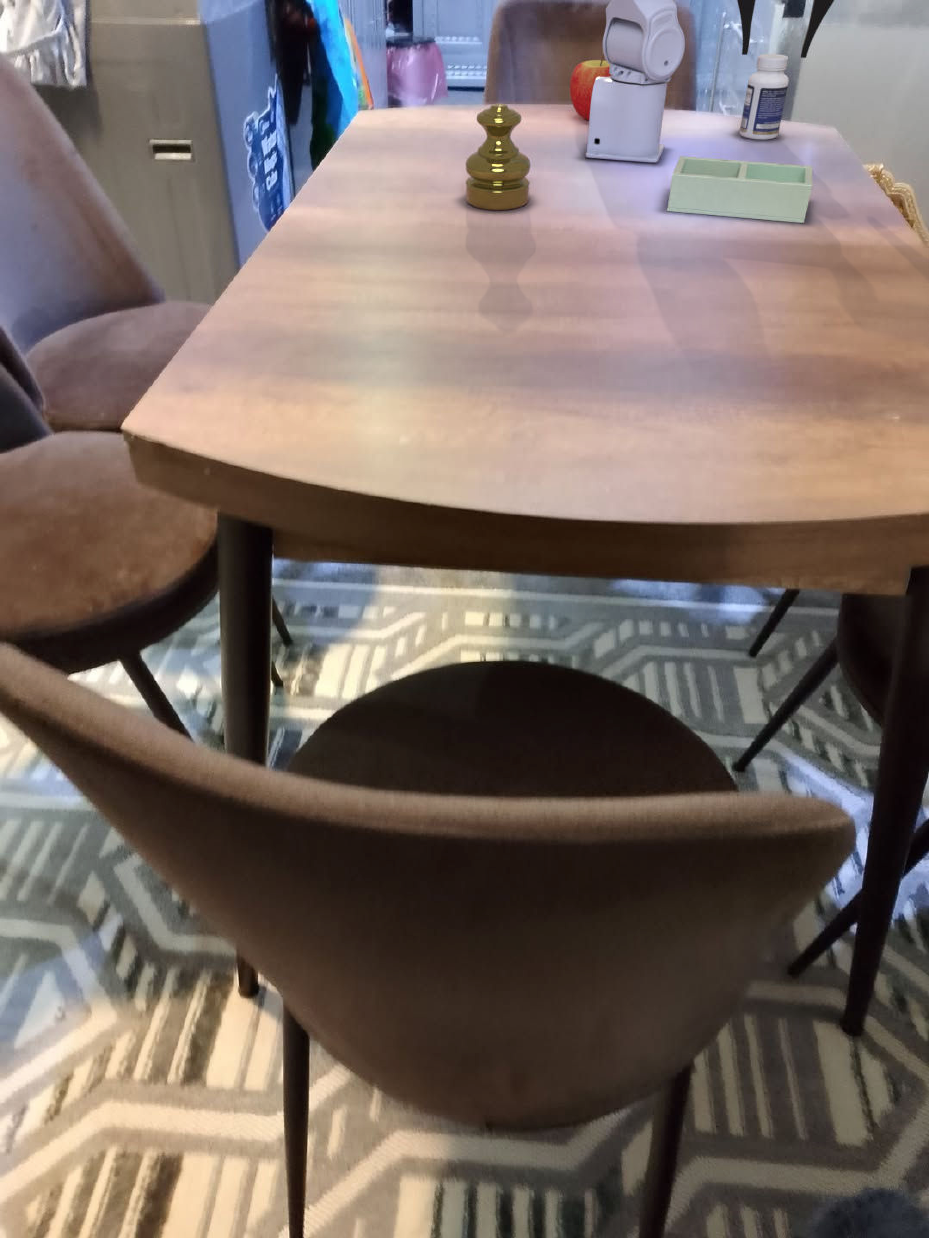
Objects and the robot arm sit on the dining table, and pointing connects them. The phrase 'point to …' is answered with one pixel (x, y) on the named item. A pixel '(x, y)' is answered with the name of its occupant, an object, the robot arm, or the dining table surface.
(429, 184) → the dining table surface
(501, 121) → the salt shaker
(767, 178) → the holder
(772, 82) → the pill bottle
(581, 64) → the apple
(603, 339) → the dining table surface
